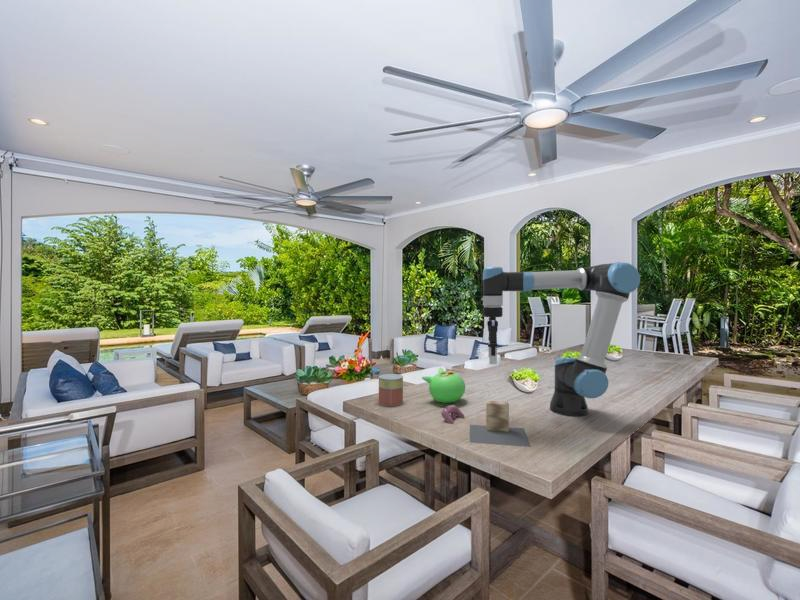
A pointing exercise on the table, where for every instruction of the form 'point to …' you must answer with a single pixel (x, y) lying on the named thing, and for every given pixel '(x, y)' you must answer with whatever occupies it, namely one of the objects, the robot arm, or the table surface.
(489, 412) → the oak tile
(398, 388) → the canned food
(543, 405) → the table surface
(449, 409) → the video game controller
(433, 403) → the table surface
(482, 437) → the rubber mat
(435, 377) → the toy bird
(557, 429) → the table surface
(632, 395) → the table surface
